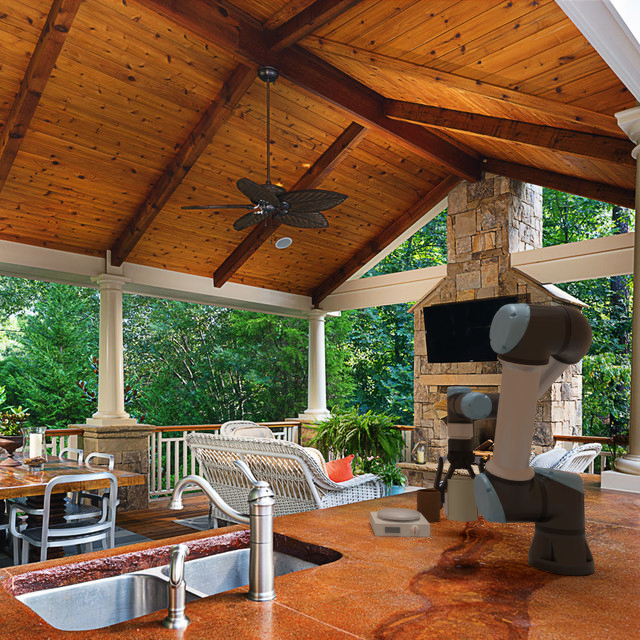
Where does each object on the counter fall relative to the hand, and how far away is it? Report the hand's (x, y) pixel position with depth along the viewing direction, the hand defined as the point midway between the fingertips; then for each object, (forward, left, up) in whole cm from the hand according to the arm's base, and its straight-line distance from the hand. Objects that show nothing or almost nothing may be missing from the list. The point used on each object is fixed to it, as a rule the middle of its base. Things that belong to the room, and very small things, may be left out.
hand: (461, 515), depth 171 cm
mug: (+19, +4, -6) cm, 20 cm away
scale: (+5, +18, -6) cm, 20 cm away
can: (0, 0, -1) cm, 1 cm away
